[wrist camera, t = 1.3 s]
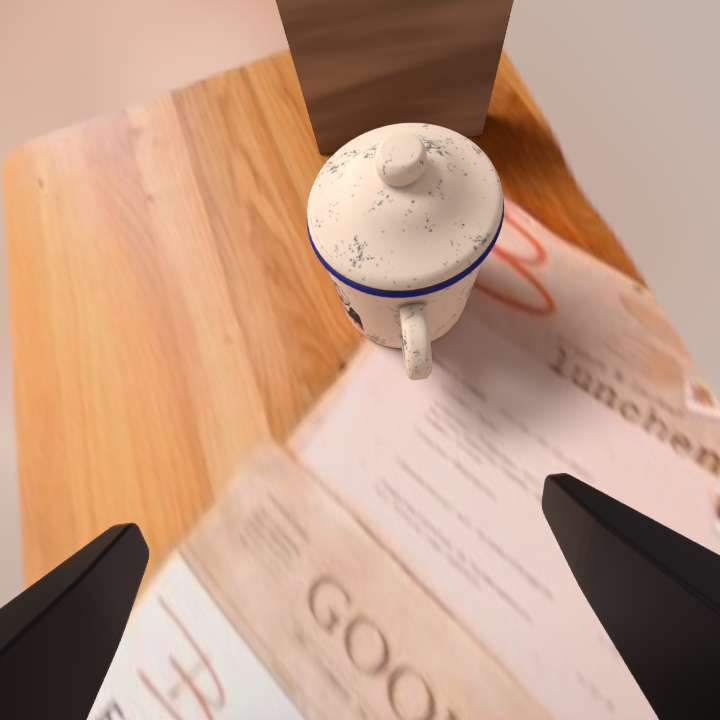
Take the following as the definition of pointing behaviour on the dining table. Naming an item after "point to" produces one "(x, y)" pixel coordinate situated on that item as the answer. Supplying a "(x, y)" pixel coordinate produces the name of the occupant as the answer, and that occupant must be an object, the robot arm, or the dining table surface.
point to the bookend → (394, 63)
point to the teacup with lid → (405, 232)
